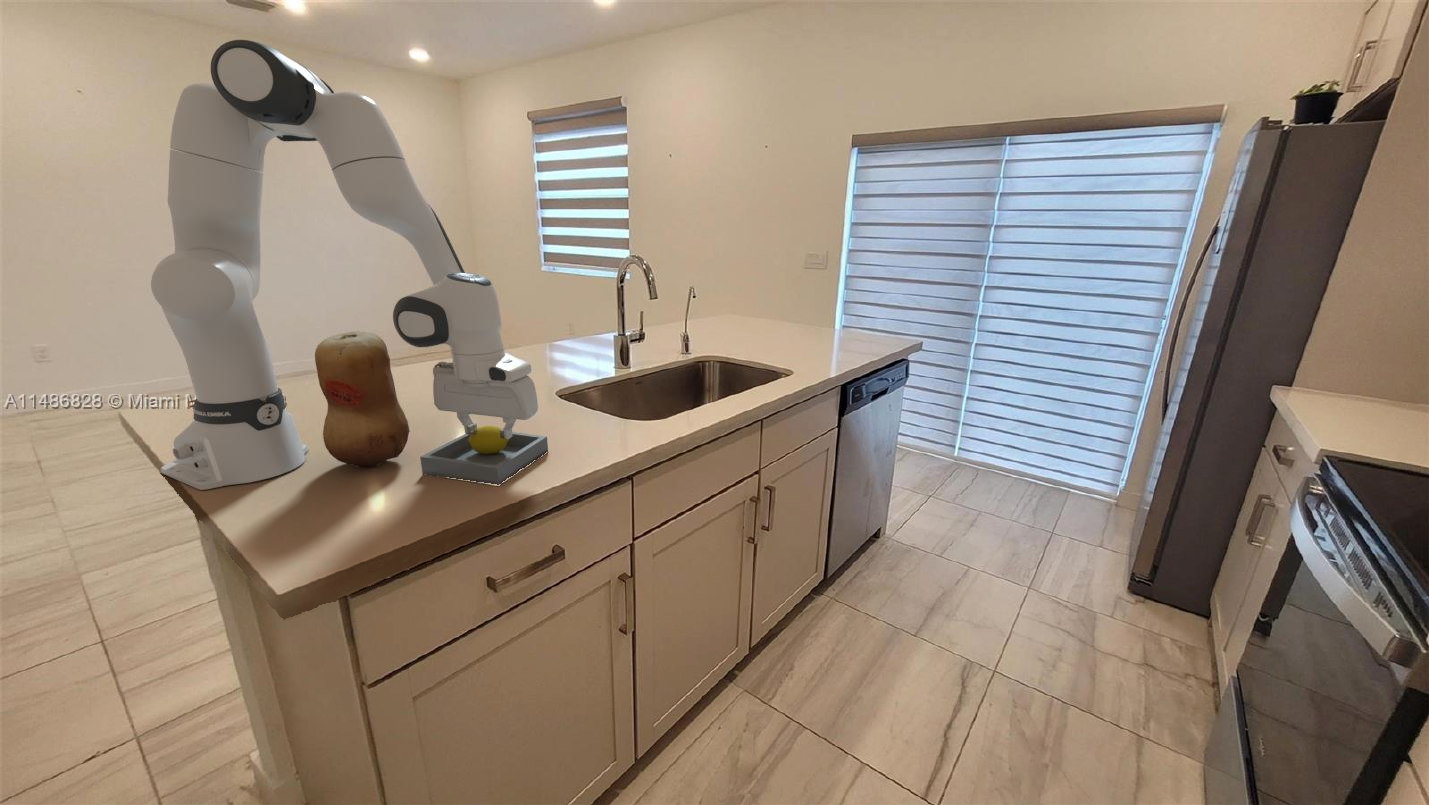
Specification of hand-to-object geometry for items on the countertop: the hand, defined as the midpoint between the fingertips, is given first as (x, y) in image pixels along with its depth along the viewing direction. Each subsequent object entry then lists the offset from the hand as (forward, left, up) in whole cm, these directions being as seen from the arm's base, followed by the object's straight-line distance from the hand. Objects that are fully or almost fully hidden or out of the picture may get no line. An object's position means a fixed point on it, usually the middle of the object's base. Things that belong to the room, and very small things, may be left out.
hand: (489, 435), depth 104 cm
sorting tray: (-1, 0, -6) cm, 6 cm away
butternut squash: (-21, -7, -6) cm, 23 cm away
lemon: (-6, +1, -2) cm, 7 cm away
